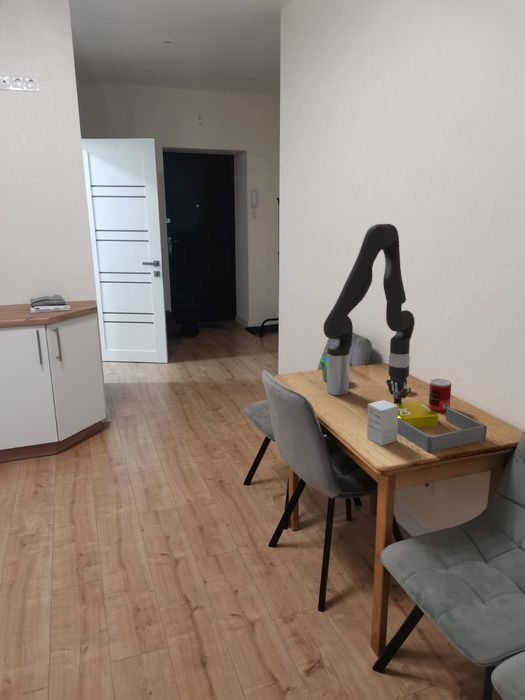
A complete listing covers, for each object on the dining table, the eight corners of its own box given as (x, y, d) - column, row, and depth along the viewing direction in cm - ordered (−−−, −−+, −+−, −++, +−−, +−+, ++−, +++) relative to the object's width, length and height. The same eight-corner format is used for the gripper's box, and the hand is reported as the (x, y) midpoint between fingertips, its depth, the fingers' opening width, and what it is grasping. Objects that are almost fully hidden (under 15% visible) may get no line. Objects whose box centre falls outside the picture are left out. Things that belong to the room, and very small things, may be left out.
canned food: (450, 406, 203) (452, 379, 200) (448, 413, 196) (450, 386, 193) (430, 403, 206) (431, 377, 203) (427, 410, 199) (428, 383, 196)
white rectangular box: (382, 433, 180) (384, 399, 177) (397, 441, 174) (399, 405, 171) (366, 438, 177) (367, 403, 174) (380, 446, 171) (381, 410, 167)
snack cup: (335, 387, 228) (336, 365, 225) (313, 383, 233) (313, 362, 231) (349, 377, 241) (349, 356, 238) (328, 374, 246) (328, 353, 244)
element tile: (439, 426, 186) (440, 414, 184) (399, 430, 184) (400, 417, 182) (421, 411, 200) (422, 399, 199) (384, 414, 198) (384, 402, 197)
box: (394, 430, 182) (395, 417, 181) (447, 420, 190) (448, 407, 188) (428, 452, 165) (429, 438, 164) (485, 439, 173) (486, 426, 172)
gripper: (380, 360, 199) (379, 403, 204) (401, 369, 187) (399, 414, 192) (397, 358, 202) (395, 400, 206) (418, 367, 190) (416, 411, 194)
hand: (397, 407), depth 199 cm, fingers closed
